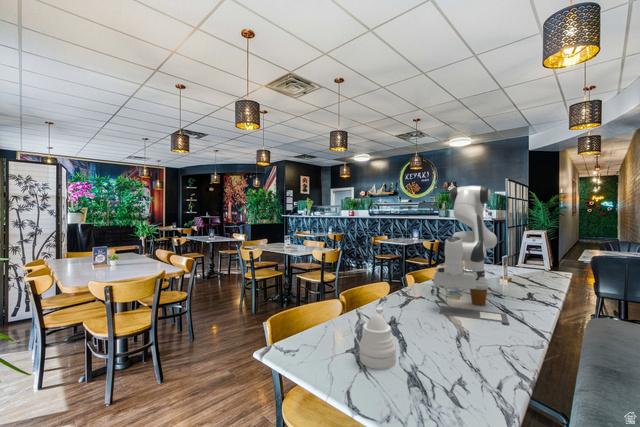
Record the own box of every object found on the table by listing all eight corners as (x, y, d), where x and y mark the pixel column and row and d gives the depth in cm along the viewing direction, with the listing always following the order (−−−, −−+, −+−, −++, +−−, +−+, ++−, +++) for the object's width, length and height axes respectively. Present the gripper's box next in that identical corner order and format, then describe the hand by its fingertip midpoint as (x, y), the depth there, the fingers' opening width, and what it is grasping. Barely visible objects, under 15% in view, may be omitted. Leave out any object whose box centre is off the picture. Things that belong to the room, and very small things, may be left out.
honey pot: (370, 348, 117) (370, 302, 117) (402, 358, 109) (401, 308, 108) (352, 361, 107) (352, 311, 107) (385, 373, 99) (384, 318, 98)
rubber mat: (441, 307, 163) (441, 305, 163) (506, 315, 149) (506, 313, 149) (438, 315, 150) (438, 313, 150) (508, 325, 137) (508, 323, 137)
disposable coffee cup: (483, 303, 170) (483, 282, 169) (491, 308, 160) (491, 286, 160) (466, 302, 170) (466, 281, 170) (473, 308, 161) (472, 286, 161)
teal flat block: (449, 294, 158) (449, 290, 158) (460, 296, 156) (460, 291, 156) (448, 298, 152) (448, 293, 152) (459, 299, 150) (459, 294, 150)
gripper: (476, 269, 151) (477, 296, 152) (434, 266, 161) (434, 291, 161) (476, 271, 146) (477, 299, 146) (432, 268, 155) (433, 295, 156)
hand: (454, 295), depth 154 cm, fingers closed on teal flat block, 5 cm apart
